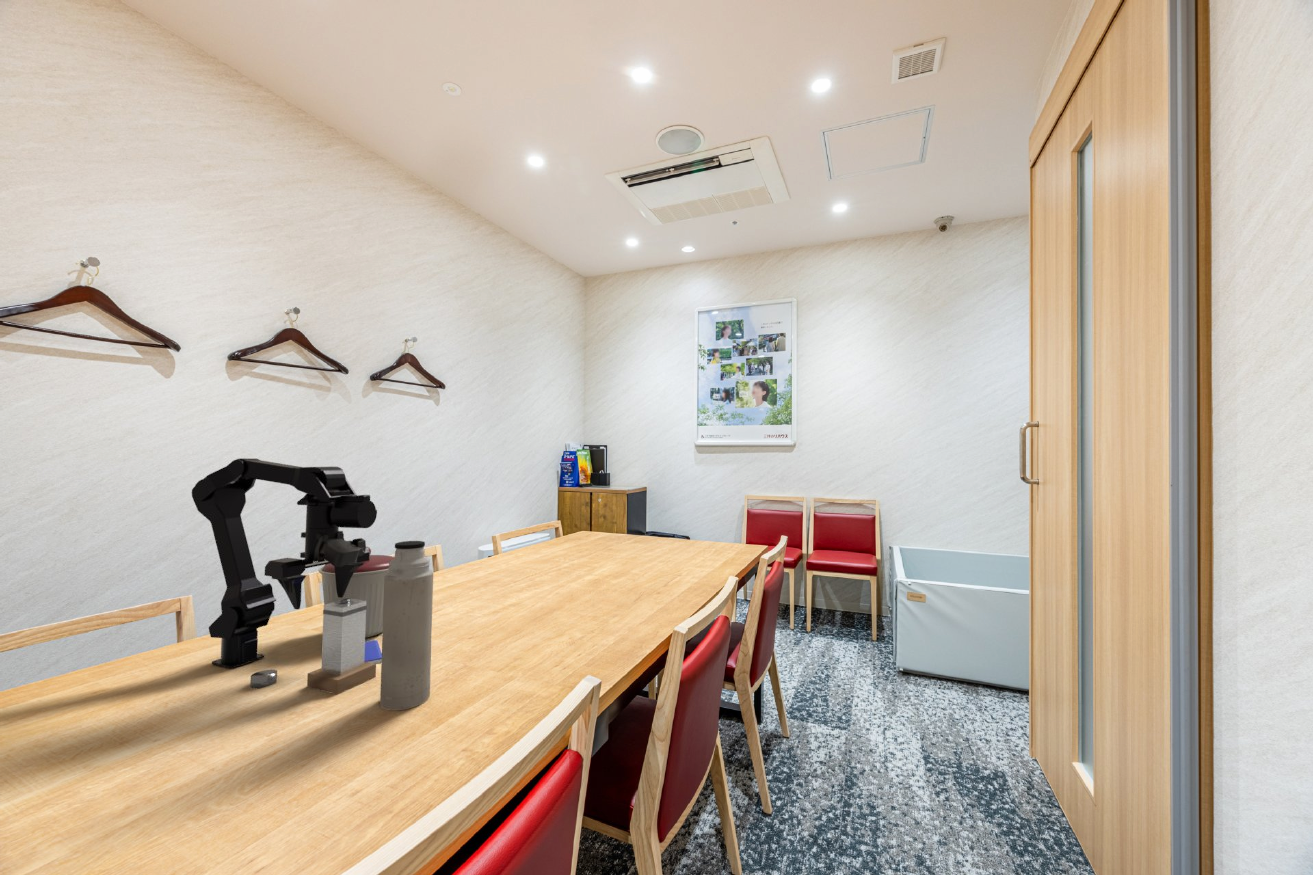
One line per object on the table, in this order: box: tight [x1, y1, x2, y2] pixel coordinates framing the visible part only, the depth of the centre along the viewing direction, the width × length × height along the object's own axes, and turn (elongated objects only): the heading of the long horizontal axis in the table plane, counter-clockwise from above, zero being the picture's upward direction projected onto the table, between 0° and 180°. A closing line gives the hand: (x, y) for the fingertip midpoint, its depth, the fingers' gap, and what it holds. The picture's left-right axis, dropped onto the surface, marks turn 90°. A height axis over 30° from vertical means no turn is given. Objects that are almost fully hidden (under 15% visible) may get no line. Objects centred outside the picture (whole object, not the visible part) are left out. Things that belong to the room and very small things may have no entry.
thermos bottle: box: [379, 540, 434, 711], centre depth 91 cm, size 8×8×28 cm
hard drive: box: [364, 639, 382, 665], centre depth 110 cm, size 2×8×12 cm
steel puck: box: [249, 669, 278, 689], centre depth 96 cm, size 4×4×2 cm
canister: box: [318, 546, 395, 639], centre depth 125 cm, size 18×18×21 cm
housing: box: [320, 598, 367, 676], centre depth 98 cm, size 5×5×13 cm
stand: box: [306, 661, 377, 695], centre depth 97 cm, size 8×8×2 cm
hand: (319, 602), depth 105 cm, fingers open, 9 cm apart
